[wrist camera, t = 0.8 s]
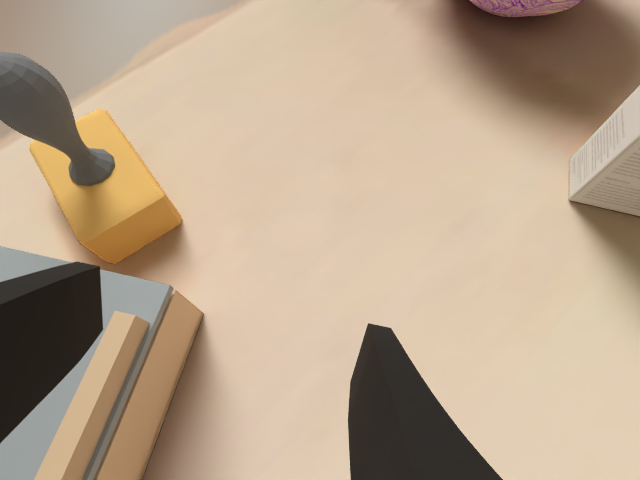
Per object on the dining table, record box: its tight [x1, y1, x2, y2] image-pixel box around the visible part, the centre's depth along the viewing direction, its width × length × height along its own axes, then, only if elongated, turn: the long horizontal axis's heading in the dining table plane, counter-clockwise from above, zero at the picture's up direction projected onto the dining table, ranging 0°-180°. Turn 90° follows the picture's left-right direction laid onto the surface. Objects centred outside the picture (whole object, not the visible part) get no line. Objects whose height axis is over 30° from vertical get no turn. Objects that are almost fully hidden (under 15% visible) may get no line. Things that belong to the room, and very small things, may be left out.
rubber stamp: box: [0, 52, 181, 264], centre depth 22 cm, size 10×6×12 cm, turn 38°
